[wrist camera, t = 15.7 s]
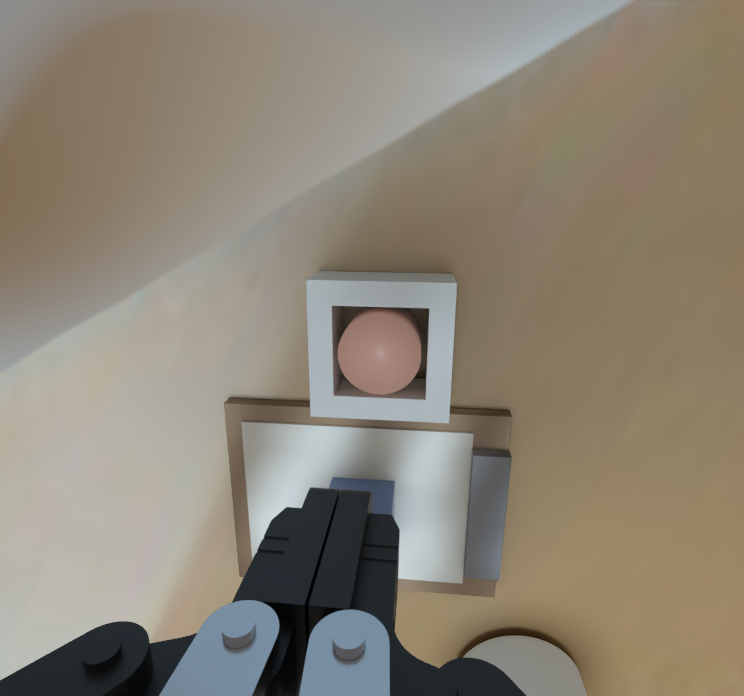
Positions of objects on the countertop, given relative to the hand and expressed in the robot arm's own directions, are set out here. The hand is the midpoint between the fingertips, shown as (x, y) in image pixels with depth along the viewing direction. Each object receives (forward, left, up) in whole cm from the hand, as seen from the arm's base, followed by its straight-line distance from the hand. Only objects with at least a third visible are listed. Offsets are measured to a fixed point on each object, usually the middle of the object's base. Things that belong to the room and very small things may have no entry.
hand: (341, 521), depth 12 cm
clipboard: (+1, +10, -15) cm, 18 cm away
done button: (0, 0, -15) cm, 15 cm away
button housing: (0, 0, -15) cm, 15 cm away
